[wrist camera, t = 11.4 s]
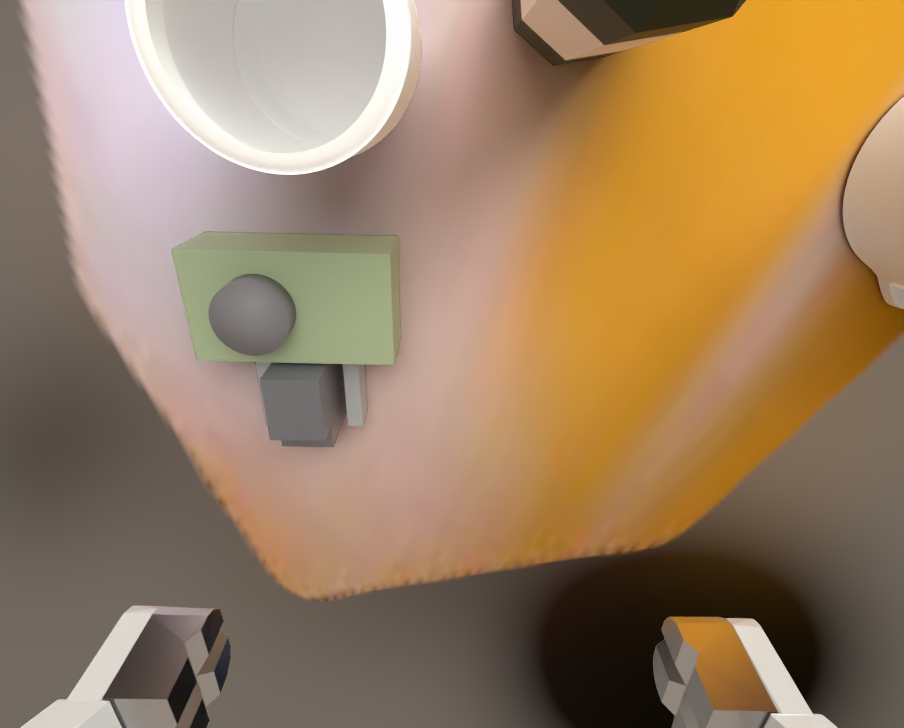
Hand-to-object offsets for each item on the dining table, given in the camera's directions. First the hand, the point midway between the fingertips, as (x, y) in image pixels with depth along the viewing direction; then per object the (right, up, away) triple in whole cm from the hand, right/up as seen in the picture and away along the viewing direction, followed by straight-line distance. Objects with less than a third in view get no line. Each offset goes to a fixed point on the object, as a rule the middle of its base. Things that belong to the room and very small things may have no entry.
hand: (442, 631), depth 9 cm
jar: (-7, +24, +23) cm, 34 cm away
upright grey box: (-11, +4, +33) cm, 35 cm away
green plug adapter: (-11, +8, +31) cm, 34 cm away
